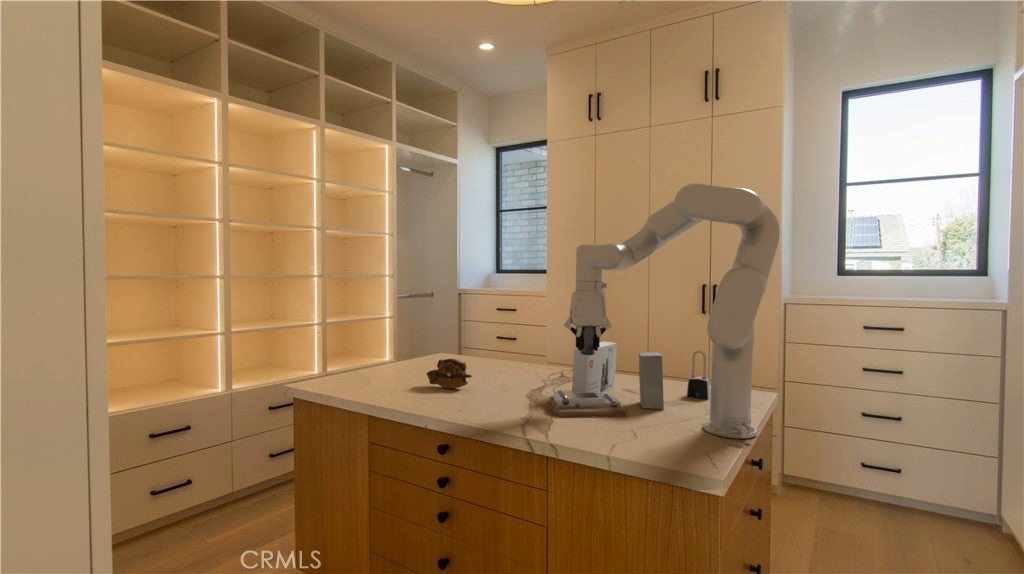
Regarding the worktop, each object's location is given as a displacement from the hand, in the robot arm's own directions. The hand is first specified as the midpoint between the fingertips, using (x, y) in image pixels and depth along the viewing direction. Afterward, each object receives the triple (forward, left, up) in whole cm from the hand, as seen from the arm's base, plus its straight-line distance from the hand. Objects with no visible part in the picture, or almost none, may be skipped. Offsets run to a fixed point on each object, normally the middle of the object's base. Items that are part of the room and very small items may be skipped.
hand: (587, 349), depth 148 cm
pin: (0, 0, -1) cm, 1 cm away
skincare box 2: (+2, -20, -18) cm, 27 cm away
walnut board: (0, 0, -17) cm, 17 cm away
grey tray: (0, 0, -16) cm, 16 cm away
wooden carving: (+26, +41, -18) cm, 52 cm away
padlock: (+11, -39, -18) cm, 44 cm away
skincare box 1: (+18, -7, -18) cm, 26 cm away
